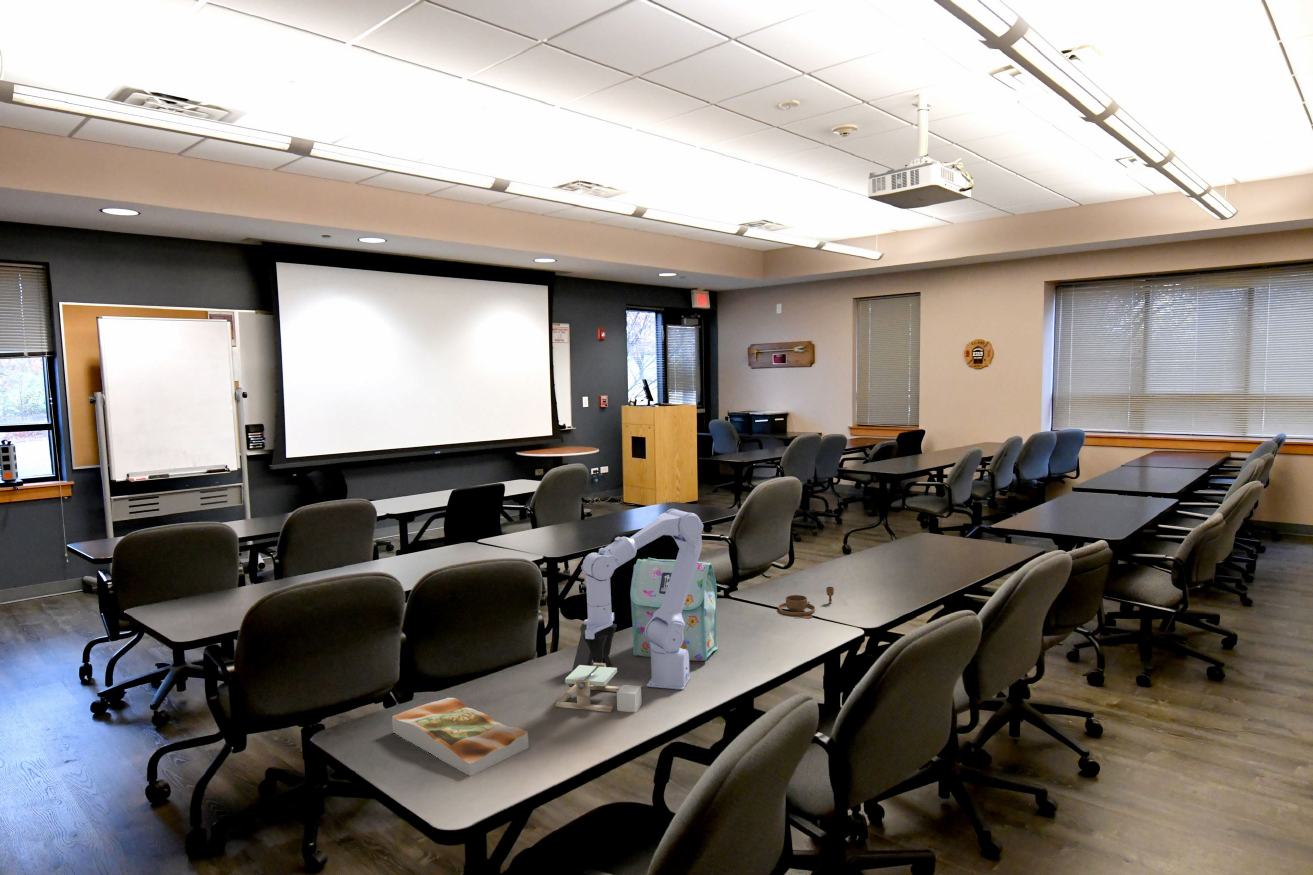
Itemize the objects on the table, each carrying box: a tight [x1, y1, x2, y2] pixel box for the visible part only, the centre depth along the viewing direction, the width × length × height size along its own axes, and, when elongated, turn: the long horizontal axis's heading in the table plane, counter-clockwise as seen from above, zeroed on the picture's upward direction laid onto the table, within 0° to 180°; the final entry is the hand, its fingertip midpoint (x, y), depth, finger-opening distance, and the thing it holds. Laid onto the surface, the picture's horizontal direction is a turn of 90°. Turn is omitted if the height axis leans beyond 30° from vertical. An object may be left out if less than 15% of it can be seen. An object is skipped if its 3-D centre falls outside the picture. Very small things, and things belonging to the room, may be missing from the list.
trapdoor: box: [564, 665, 618, 688], centre depth 182 cm, size 10×9×2 cm
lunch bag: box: [629, 557, 719, 662], centre depth 210 cm, size 23×16×27 cm
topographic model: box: [391, 697, 530, 777], centre depth 162 cm, size 30×14×5 cm, turn 48°
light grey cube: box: [616, 684, 642, 713], centre depth 176 cm, size 4×4×4 cm
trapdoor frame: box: [555, 662, 622, 713], centre depth 182 cm, size 14×14×7 cm
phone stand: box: [572, 622, 613, 671], centre depth 201 cm, size 9×6×12 cm, turn 128°
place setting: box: [777, 586, 835, 619], centre depth 245 cm, size 18×20×6 cm
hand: (601, 658), depth 180 cm, fingers open, 4 cm apart
